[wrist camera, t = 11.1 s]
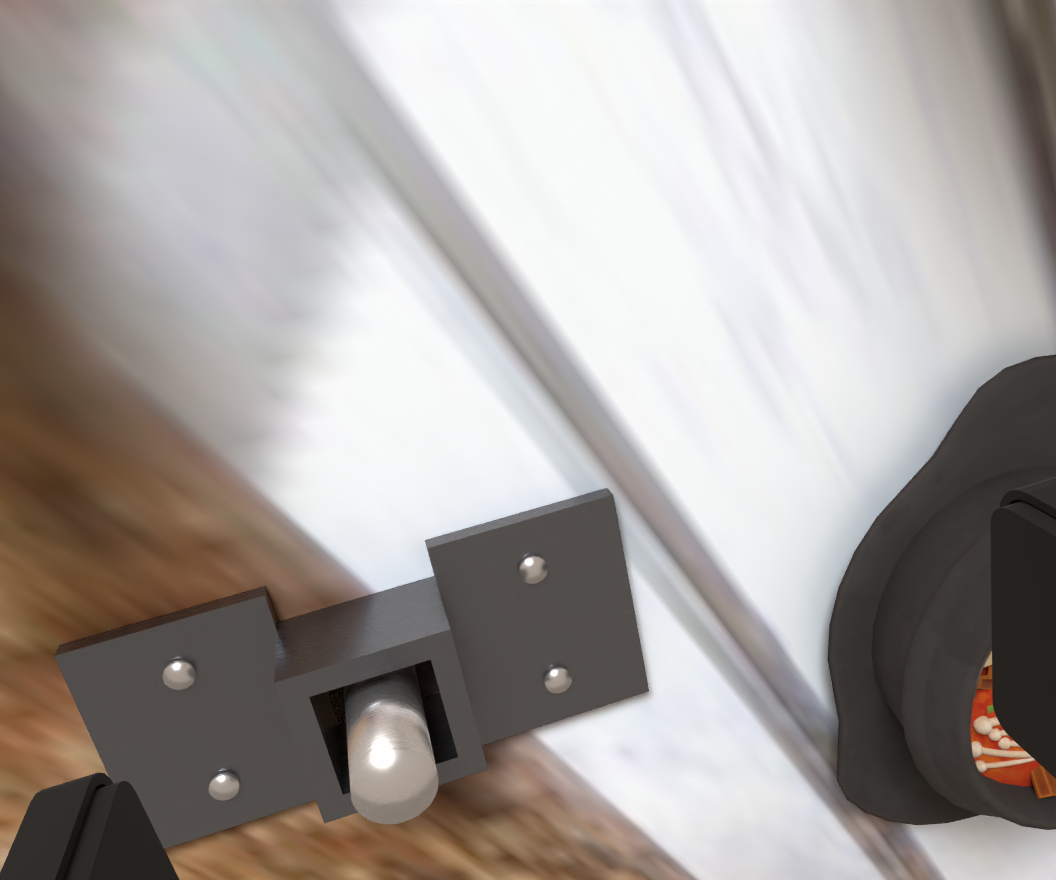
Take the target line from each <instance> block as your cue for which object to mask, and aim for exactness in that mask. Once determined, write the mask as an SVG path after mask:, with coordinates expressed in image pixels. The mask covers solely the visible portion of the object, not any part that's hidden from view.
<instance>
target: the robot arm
mask: <svg viewBox="0 0 1056 880" xmlns="http://www.w3.org/2000/svg"><path fill="white" fill-rule="evenodd" d="M990 530H991V620H992V702H993V709H994V712H995V715H996V717H997V719H998V721H999V723H1000V725H1001V726H1002V728H1003V729H1004V731H1005V732H1006V733H1007V734H1008V735H1009V736H1010V738H1011V739H1013V740H1014V741H1015V742H1016V743H1017V744H1018V745H1019V746H1020V747H1021V748H1022V749H1024V750H1025V751H1026V752H1027V753H1028V754H1029V755H1030V756H1031V757H1032V758H1033V759H1035V760H1036V761H1037V762H1038V763H1039V764H1040V765H1041V766H1042V767H1043V768H1044V769H1046V770H1047V771H1048V772H1049V773H1050V774H1051V775H1052V776H1053V777H1054V778H1056V477H1052V478H1049V479H1046V480H1043V481H1039V482H1036V483H1033V484H1030V485H1027V486H1023V487H1020V488H1017V489H1014V490H1010V491H1009V492H1007V493H1006V494H1004V496H1003V498H1002V500H1001V502H1000V508H998V509H997V510H995V511H994V512H993V514H992V516H991V523H990ZM0 880H179V878H178V876H177V874H176V872H175V870H174V868H173V866H172V864H171V862H170V860H169V858H168V856H167V854H166V852H165V850H164V848H163V846H162V844H161V842H160V840H159V838H158V836H157V834H156V832H155V830H154V828H153V826H152V824H151V821H150V819H149V817H148V815H147V813H146V811H145V809H144V807H143V805H142V803H141V801H140V799H139V797H138V795H137V793H136V791H135V790H134V788H133V786H132V785H131V784H130V783H129V782H127V781H121V782H118V783H115V784H114V783H113V782H112V780H111V779H110V778H109V777H108V776H107V775H106V774H104V773H95V774H92V775H89V776H86V777H83V778H79V779H76V780H73V781H70V782H66V783H63V784H60V785H57V786H53V787H50V788H47V789H44V790H41V791H40V792H38V793H36V794H35V796H34V797H33V799H32V801H31V802H30V805H29V807H28V809H27V812H26V814H25V816H24V819H23V821H22V823H21V826H20V828H19V830H18V833H17V835H16V837H15V840H14V842H13V844H12V847H11V849H10V851H9V854H8V856H7V858H6V861H5V863H4V865H3V868H2V870H1V872H0Z"/></svg>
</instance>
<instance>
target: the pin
mask: <svg viewBox="0 0 1056 880" xmlns="http://www.w3.org/2000/svg"><path fill="white" fill-rule="evenodd" d="M343 688H344V703H345V717H346V732H347V747H348V762H349V777H350V792H351V800H352V803H353V805H354V807H355V809H356V810H357V811H358V812H359V813H360V814H361V815H362V816H363V817H365V818H366V819H368V820H370V821H372V822H376V823H380V824H397V823H402V822H405V821H408V820H411V819H413V818H415V817H416V816H418V815H419V814H421V813H422V812H423V811H425V810H426V809H427V808H428V807H429V805H430V804H431V803H432V801H433V800H434V798H435V796H436V793H437V790H438V783H439V782H438V774H437V770H436V765H435V760H434V755H433V751H432V746H431V741H430V736H429V731H428V727H427V722H426V717H425V712H424V708H423V703H422V698H421V693H420V688H419V684H418V679H417V674H416V669H415V665H412V666H408V667H405V668H402V669H399V670H395V671H392V672H389V673H386V674H382V675H379V676H376V677H373V678H369V679H366V680H363V681H360V682H356V683H353V684H350V685H347V686H343Z"/></svg>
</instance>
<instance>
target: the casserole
mask: <svg viewBox="0 0 1056 880" xmlns="http://www.w3.org/2000/svg"><path fill="white" fill-rule="evenodd" d="M1052 477H1056V355H1050V356H1042V357H1035V358H1032V359H1029V360H1026V361H1024V362H1021V363H1018V364H1015V365H1013V366H1010V367H1007V368H1005V369H1003V370H1002V371H1001V372H999V373H998V374H997V375H996V376H994V377H993V378H992V379H990V380H989V381H988V382H986V383H985V384H984V385H982V386H981V387H980V388H978V390H977V391H976V393H975V394H974V395H973V397H972V398H971V400H970V401H969V403H968V404H967V405H966V407H965V408H964V410H963V411H962V412H961V414H960V415H959V417H958V418H957V419H956V421H955V422H954V424H953V425H952V427H951V429H950V430H949V432H948V433H947V435H946V436H945V438H944V439H943V441H942V442H941V444H940V445H939V447H938V449H937V450H936V452H935V453H934V455H933V456H932V457H931V458H930V459H929V461H928V462H927V463H926V464H925V465H924V466H923V467H922V468H921V469H920V470H919V472H918V473H917V474H916V475H915V476H914V477H913V478H912V479H911V480H910V481H909V482H908V484H907V485H906V486H905V487H904V488H903V489H902V490H901V491H900V492H899V493H898V495H897V496H896V497H895V498H894V499H893V500H892V501H891V502H890V503H889V505H888V506H887V507H886V508H885V509H884V510H883V511H882V512H881V513H880V514H879V516H878V517H877V518H876V519H875V521H874V523H873V524H872V526H871V527H870V529H869V530H868V532H867V533H866V535H865V537H864V538H863V540H862V541H861V543H860V544H859V546H858V547H857V549H856V550H855V552H854V554H853V557H852V559H851V561H850V563H849V566H848V568H847V570H846V572H845V575H844V577H843V579H842V582H841V584H840V586H839V588H838V593H837V597H836V601H835V605H834V609H833V613H832V617H831V621H830V628H829V647H828V663H829V669H830V674H831V680H832V686H833V692H834V697H835V703H836V708H837V714H838V719H839V729H838V763H837V781H838V783H839V785H840V787H841V789H842V791H843V793H844V794H845V796H846V798H847V800H849V801H850V802H851V803H853V804H854V805H856V806H857V807H858V808H860V809H861V810H862V811H864V812H866V813H868V814H871V815H874V816H876V817H879V818H882V819H885V820H887V821H891V822H899V823H906V824H913V825H926V824H940V823H949V822H954V821H958V820H962V819H966V818H970V817H974V816H978V815H987V816H994V817H1001V818H1003V819H1006V820H1008V821H1011V822H1013V823H1016V824H1018V825H1021V826H1025V827H1032V828H1039V829H1046V830H1052V829H1056V778H1054V777H1053V776H1052V775H1051V774H1050V773H1049V772H1048V771H1047V770H1046V769H1044V768H1043V767H1042V766H1041V765H1040V764H1039V763H1038V762H1037V761H1036V760H1035V759H1033V758H1032V757H1031V756H1030V755H1029V754H1028V753H1027V752H1026V751H1025V750H1024V749H1022V748H1021V747H1020V746H1019V745H1018V744H1017V743H1016V742H1015V741H1014V740H1013V739H1011V738H1010V736H1009V735H1008V734H1007V733H1006V732H1005V731H1004V729H1003V728H1002V726H1001V725H1000V723H999V721H998V719H997V717H996V715H995V712H994V709H993V702H992V620H991V530H990V523H991V516H992V514H993V512H994V511H995V510H997V509H998V508H1000V502H1001V500H1002V498H1003V496H1004V494H1006V493H1007V492H1009V491H1010V490H1014V489H1017V488H1020V487H1023V486H1027V485H1030V484H1033V483H1036V482H1039V481H1043V480H1046V479H1049V478H1052Z"/></svg>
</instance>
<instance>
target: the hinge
mask: <svg viewBox="0 0 1056 880" xmlns="http://www.w3.org/2000/svg"><path fill="white" fill-rule="evenodd" d="M425 542H426V546H427V550H428V553H429V557H430V561H431V565H432V568H433V572H434V576H433V577H430V578H426V579H423V580H419V581H416V582H413V583H409V584H406V585H402V586H399V587H395V588H392V589H389V590H385V591H382V592H378V593H375V594H372V595H368V596H365V597H361V598H358V599H355V600H351V601H348V602H344V603H341V604H338V605H334V606H331V607H327V608H324V609H321V610H317V611H314V612H310V613H307V614H304V615H300V616H297V617H293V618H290V619H287V620H283V621H280V622H278V621H277V618H276V615H275V612H274V609H273V607H272V604H271V601H270V598H269V595H268V592H267V589H266V586H264V587H261V588H257V589H254V590H250V591H247V592H243V593H240V594H236V595H233V596H229V597H226V598H222V599H219V600H216V601H212V602H209V603H205V604H202V605H198V606H195V607H191V608H188V609H184V610H181V611H177V612H174V613H170V614H167V615H163V616H160V617H156V618H153V619H149V620H146V621H142V622H139V623H135V624H132V625H128V626H125V627H121V628H118V629H114V630H111V631H107V632H104V633H101V634H97V635H94V636H90V637H87V638H83V639H80V640H76V641H73V642H69V643H66V644H62V645H59V647H58V649H57V651H56V653H55V655H54V657H55V659H56V661H57V663H58V666H59V668H60V670H61V672H62V674H63V677H64V679H65V681H66V683H67V685H68V688H69V690H70V692H71V694H72V696H73V698H74V701H75V703H76V705H77V707H78V709H79V712H80V714H81V716H82V718H83V720H84V723H85V725H86V727H87V729H88V731H89V734H90V736H91V738H92V740H93V742H94V745H95V747H96V749H97V751H98V753H99V756H100V758H101V760H102V762H103V764H104V766H105V769H106V771H107V773H108V775H109V777H110V779H111V780H112V782H113V783H114V784H115V783H118V782H121V781H127V782H129V783H130V784H131V785H132V786H133V788H134V790H135V791H136V793H137V795H138V797H139V799H140V801H141V803H142V805H143V807H144V809H145V811H146V813H147V815H148V817H149V819H150V821H151V824H152V826H153V828H154V830H155V832H156V834H157V836H158V838H159V840H160V842H161V844H162V846H163V848H164V849H166V848H170V847H173V846H176V845H179V844H182V843H185V842H188V841H191V840H194V839H197V838H200V837H203V836H206V835H209V834H212V833H216V832H219V831H222V830H225V829H228V828H231V827H234V826H237V825H240V824H243V823H246V822H249V821H252V820H255V819H258V818H262V817H265V816H268V815H271V814H274V813H277V812H280V811H283V810H286V809H289V808H292V807H295V806H298V805H301V804H304V803H307V802H311V801H314V800H316V802H317V804H318V807H319V810H320V813H321V816H322V818H323V821H324V823H327V822H330V821H333V820H336V819H339V818H342V817H345V816H348V815H351V814H354V813H357V812H358V811H357V810H356V809H355V807H354V805H353V803H352V800H351V792H350V777H349V762H348V747H347V732H346V723H345V724H341V725H339V724H338V721H337V718H336V715H335V712H334V709H333V706H332V703H331V700H330V697H329V694H328V691H330V690H334V689H337V688H340V687H343V686H347V685H350V684H353V683H356V682H360V681H363V680H366V679H369V678H373V677H376V676H379V675H382V674H386V673H389V672H392V671H395V670H399V669H402V668H405V667H408V666H412V665H415V664H418V663H421V662H424V661H428V660H431V662H432V666H433V669H434V673H435V676H436V680H437V683H438V687H439V691H440V694H437V695H434V696H430V697H427V698H424V699H422V703H423V708H424V712H425V717H426V722H427V727H428V731H429V736H430V741H431V746H432V751H433V755H434V760H435V765H436V770H437V774H438V782H439V783H438V786H439V785H442V784H445V783H448V782H451V781H454V780H457V779H460V778H463V777H466V776H469V775H472V774H475V773H478V772H481V771H484V770H487V769H488V767H487V763H486V759H485V756H484V752H483V748H482V745H485V744H488V743H491V742H494V741H497V740H501V739H504V738H507V737H510V736H513V735H516V734H519V733H522V732H525V731H528V730H531V729H534V728H537V727H540V726H543V725H547V724H550V723H553V722H556V721H559V720H562V719H565V718H568V717H571V716H574V715H577V714H580V713H583V712H586V711H589V710H592V709H596V708H599V707H602V706H605V705H608V704H611V703H614V702H617V701H620V700H623V699H626V698H629V697H632V696H635V695H638V694H642V693H645V692H648V691H649V689H648V683H647V678H646V672H645V667H644V661H643V656H642V650H641V645H640V639H639V634H638V629H637V623H636V618H635V612H634V607H633V601H632V596H631V590H630V585H629V579H628V574H627V568H626V563H625V558H624V552H623V547H622V541H621V536H620V530H619V525H618V519H617V514H616V508H615V503H614V497H613V494H612V493H611V492H610V491H609V490H608V489H607V488H606V489H602V490H599V491H595V492H592V493H588V494H585V495H581V496H578V497H574V498H571V499H567V500H564V501H560V502H557V503H554V504H550V505H547V506H543V507H540V508H536V509H533V510H529V511H526V512H522V513H519V514H515V515H512V516H508V517H505V518H501V519H498V520H494V521H491V522H487V523H484V524H480V525H477V526H473V527H470V528H466V529H463V530H459V531H456V532H452V533H449V534H445V535H442V536H439V537H435V538H432V539H428V540H425Z"/></svg>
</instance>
